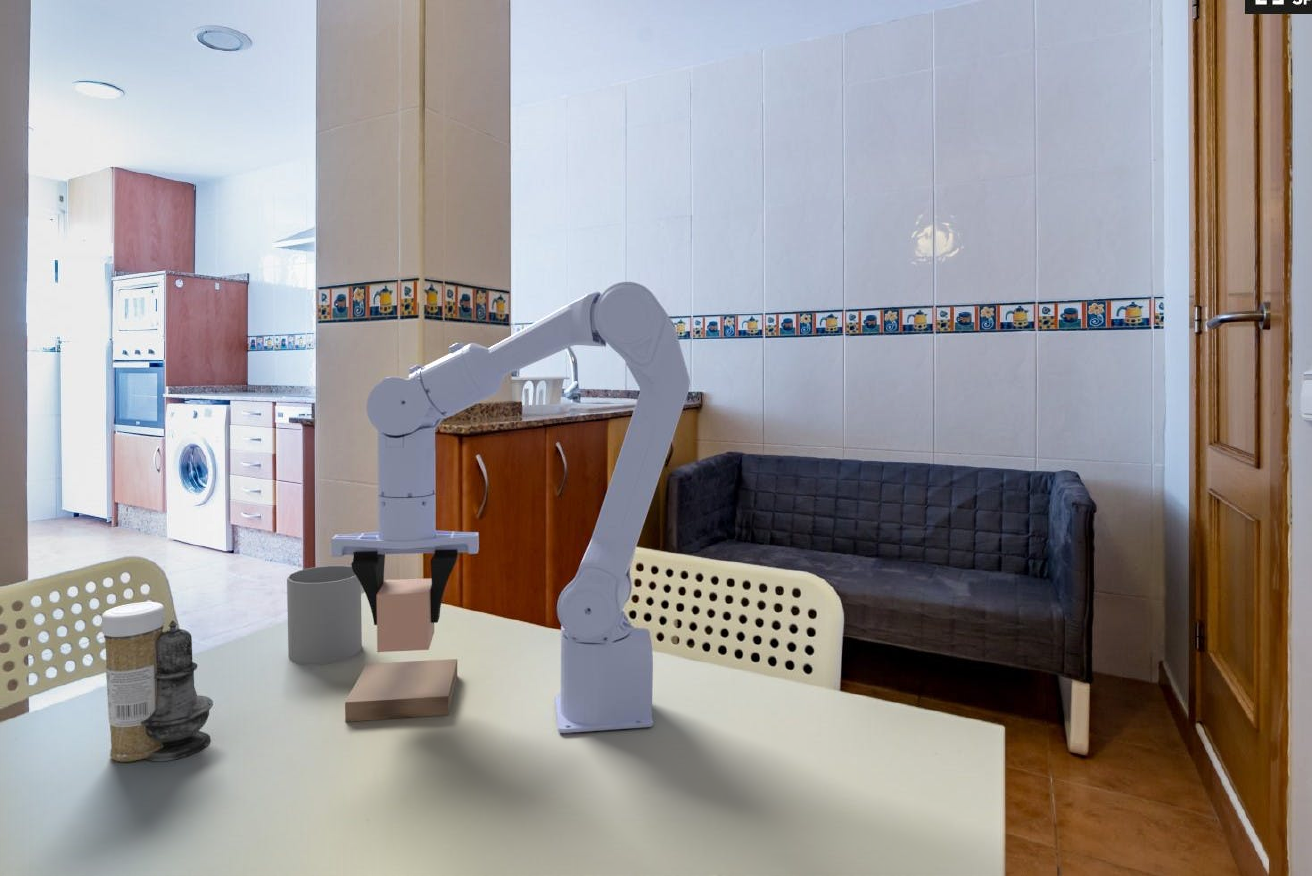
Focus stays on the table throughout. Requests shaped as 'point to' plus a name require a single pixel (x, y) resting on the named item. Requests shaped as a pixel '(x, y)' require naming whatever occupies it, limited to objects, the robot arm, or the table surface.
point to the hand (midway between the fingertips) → (407, 620)
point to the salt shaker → (177, 700)
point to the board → (402, 690)
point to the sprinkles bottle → (132, 676)
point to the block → (404, 615)
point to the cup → (323, 615)
